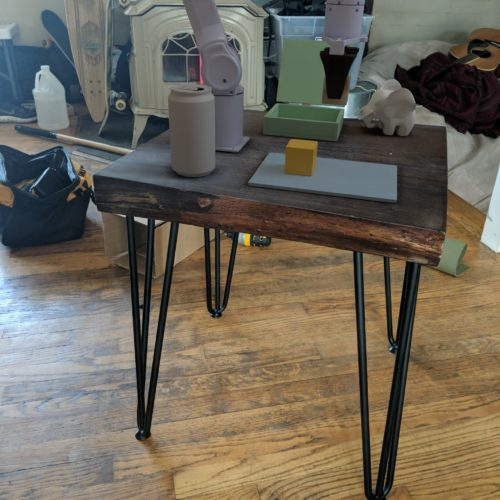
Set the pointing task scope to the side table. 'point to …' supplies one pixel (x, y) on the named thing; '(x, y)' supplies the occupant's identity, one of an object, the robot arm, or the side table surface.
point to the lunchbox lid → (302, 72)
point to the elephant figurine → (391, 109)
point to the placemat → (331, 178)
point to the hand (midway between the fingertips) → (335, 95)
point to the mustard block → (300, 157)
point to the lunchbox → (304, 122)
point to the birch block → (335, 101)
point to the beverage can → (192, 129)
